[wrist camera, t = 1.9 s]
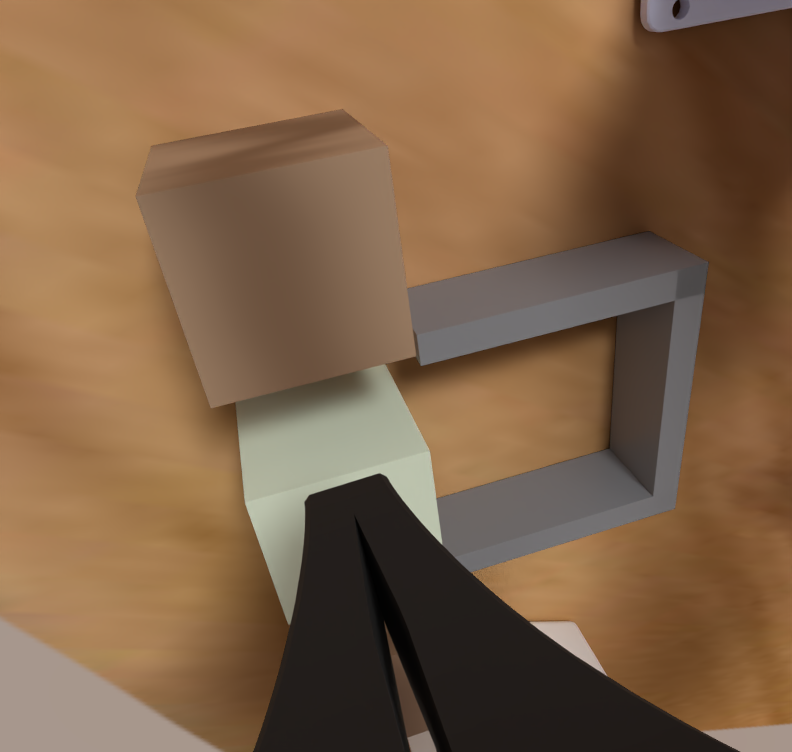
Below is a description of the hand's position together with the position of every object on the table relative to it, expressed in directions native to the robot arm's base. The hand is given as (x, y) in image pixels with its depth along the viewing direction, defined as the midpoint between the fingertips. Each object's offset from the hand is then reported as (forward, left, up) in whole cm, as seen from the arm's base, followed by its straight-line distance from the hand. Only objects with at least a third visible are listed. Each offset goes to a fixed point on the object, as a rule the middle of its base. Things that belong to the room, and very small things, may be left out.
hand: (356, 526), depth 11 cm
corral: (-8, +6, -10) cm, 14 cm away
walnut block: (0, -2, -10) cm, 10 cm away
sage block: (0, +6, -10) cm, 12 cm away
